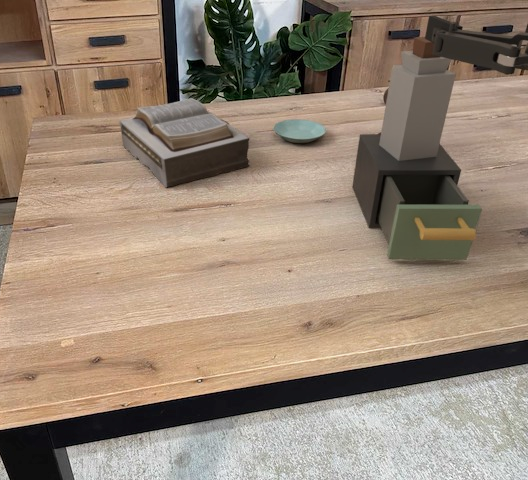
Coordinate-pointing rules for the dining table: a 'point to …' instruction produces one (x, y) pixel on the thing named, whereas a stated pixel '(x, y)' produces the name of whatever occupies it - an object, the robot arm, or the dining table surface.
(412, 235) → the drawer
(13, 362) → the dining table surface
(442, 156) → the cabinet
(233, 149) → the bible
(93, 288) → the dining table surface
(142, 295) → the dining table surface
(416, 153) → the perfume bottle
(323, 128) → the saucer
